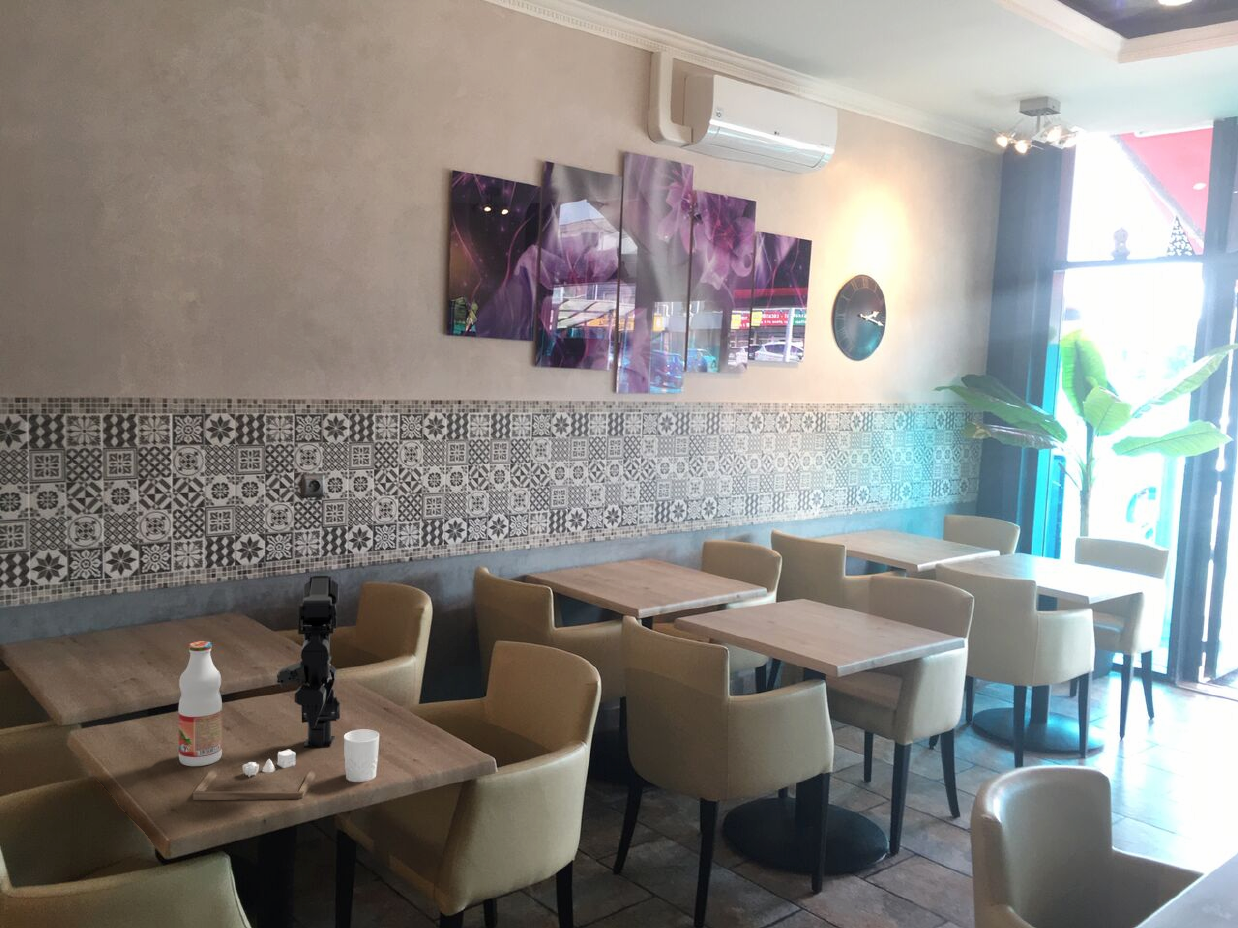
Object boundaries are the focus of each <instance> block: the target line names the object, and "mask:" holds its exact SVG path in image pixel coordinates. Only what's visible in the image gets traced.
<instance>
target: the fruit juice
mask: <svg viewBox="0 0 1238 928" xmlns="http://www.w3.org/2000/svg"><path fill="white" fill-rule="evenodd" d="M188 651H189V653H190V654H189V655H190V656H189V660H188V663H187V666H186V668H185V669H184V671H183V672H182V673H181V674H180V676H179V683H178V685H179V690H180V693H181V695H180V697H179V701H178V759H179V762H180V763H181V764H182V765H184V766H188V767H203V766H208V765H212V764H215V763H216V762H218V761H219V760H220V759H221V757H222V753H223V744H222V743H223V718H222V717H223V702H222V695H221V693H220V687H221V684H222V676H221V673H220V670H218V669H217V668H216V666H215V664H214V663H213V660H212V657H211V651H212V643H211V642H210V641H205V640H200V641H194V642H191V643H189V645H188Z"/></svg>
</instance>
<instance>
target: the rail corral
mask: <svg viewBox="0 0 1238 928" xmlns="http://www.w3.org/2000/svg"><path fill="white" fill-rule="evenodd" d="M217 776H218V770H217V768H211V770H210V771H209V772H208V773H207V774H206V776H205V777H204V779H202V781H201V782H200V784H199V785H197V787H196V788H195V790H194V791H193V792H192V800H193V801H205V800H206V801H225V800H226V801H236V800H237V799H246V800H291V799H292V800H295V799H296V800H298V799H303V798H304V796H305V795H306V793H307V790H308V789H309V788H310V786H311V784H312V782H313V780H314V779H315V777H316V768H311V769H310V770H309V772H308V774H307V775H306V777H305V779H304V781H303V783H302V785H301V787H300V788H299V790H297V791H295V790H293V791H292V790H288V791H285V790H283V791H282V790H281V791H278V790H277V791H274V790H270V791H269V790H266V791H264V790H261V791H260V790H257V791H255V790H252V791H250V790H249V791H248V790H247V791H246V790H245V791H244V790H243V791H242V790H236V791H235V790H227V791H226V790H224V791H223V790H207V789H208V787H209V786H210V784H211V783H212V782H213V781H214V779H215V778H216V777H217ZM237 801H238V800H237Z"/></svg>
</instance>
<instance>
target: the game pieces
mask: <svg viewBox="0 0 1238 928" xmlns="http://www.w3.org/2000/svg"><path fill="white" fill-rule="evenodd" d="M296 755H297V754H296V751H292V750H291V749H286V750H283V751H278V753H277V762H276V763H277V766H279V767H281V768H282V769H287V768H289V767H294V766H295V765H296V764H297V763H296V757H297V756H296ZM259 769H260V764H259V763H257V762H256V761H254V762H253V761H249V762H247V763H244V764H243V765H242V773H243V774H245V776H248V778H250V777H252V776H257V774H258V772H259ZM261 771H262V772H264V773H273V772H276V768H275V765H274V764H273V761H272V760H271V759H270V758H268V759H267V760H266V762H265V764H264V766H263V768H262V769H261Z"/></svg>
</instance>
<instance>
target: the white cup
mask: <svg viewBox="0 0 1238 928" xmlns="http://www.w3.org/2000/svg"><path fill="white" fill-rule="evenodd" d="M379 746H380V733H379V732H378V731H376V730H373V729H367V728H366V729H365V728H364V729H355V730H354V729H353V730H351V731H348V732H346V733H345V734H344V735H343V754H344V768H345V779H346V780H348V781H349V782H354V783H362V782H363V783H364V782H368V781H371V780H374V779H375V778H376V776H377V767H378V762H379V761H378V760H379Z"/></svg>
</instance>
